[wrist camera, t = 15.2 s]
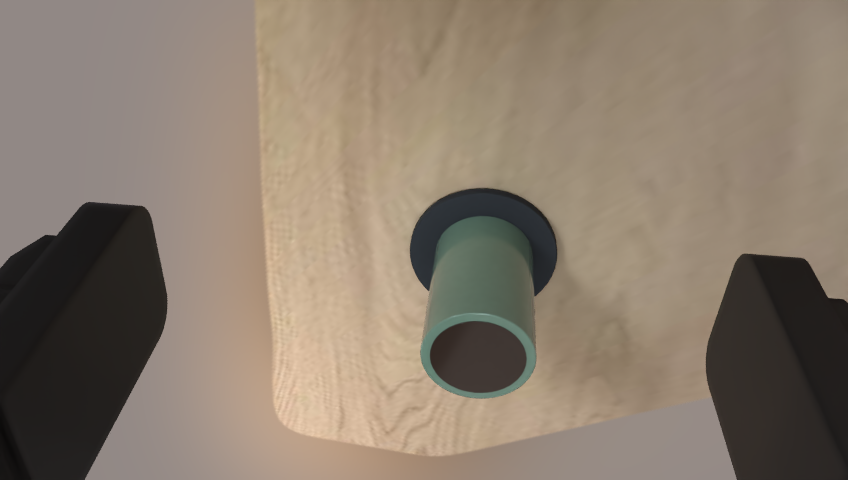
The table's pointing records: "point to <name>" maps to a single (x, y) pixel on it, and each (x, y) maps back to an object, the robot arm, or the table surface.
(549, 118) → the table surface
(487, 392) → the cup
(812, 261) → the table surface
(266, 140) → the table surface
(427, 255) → the coaster
